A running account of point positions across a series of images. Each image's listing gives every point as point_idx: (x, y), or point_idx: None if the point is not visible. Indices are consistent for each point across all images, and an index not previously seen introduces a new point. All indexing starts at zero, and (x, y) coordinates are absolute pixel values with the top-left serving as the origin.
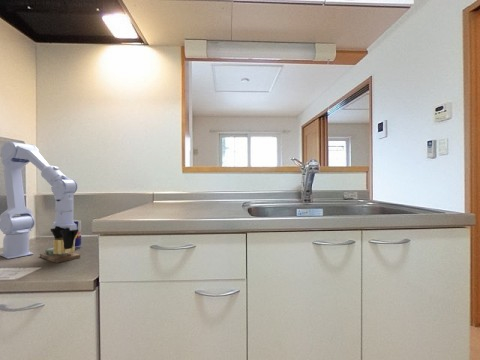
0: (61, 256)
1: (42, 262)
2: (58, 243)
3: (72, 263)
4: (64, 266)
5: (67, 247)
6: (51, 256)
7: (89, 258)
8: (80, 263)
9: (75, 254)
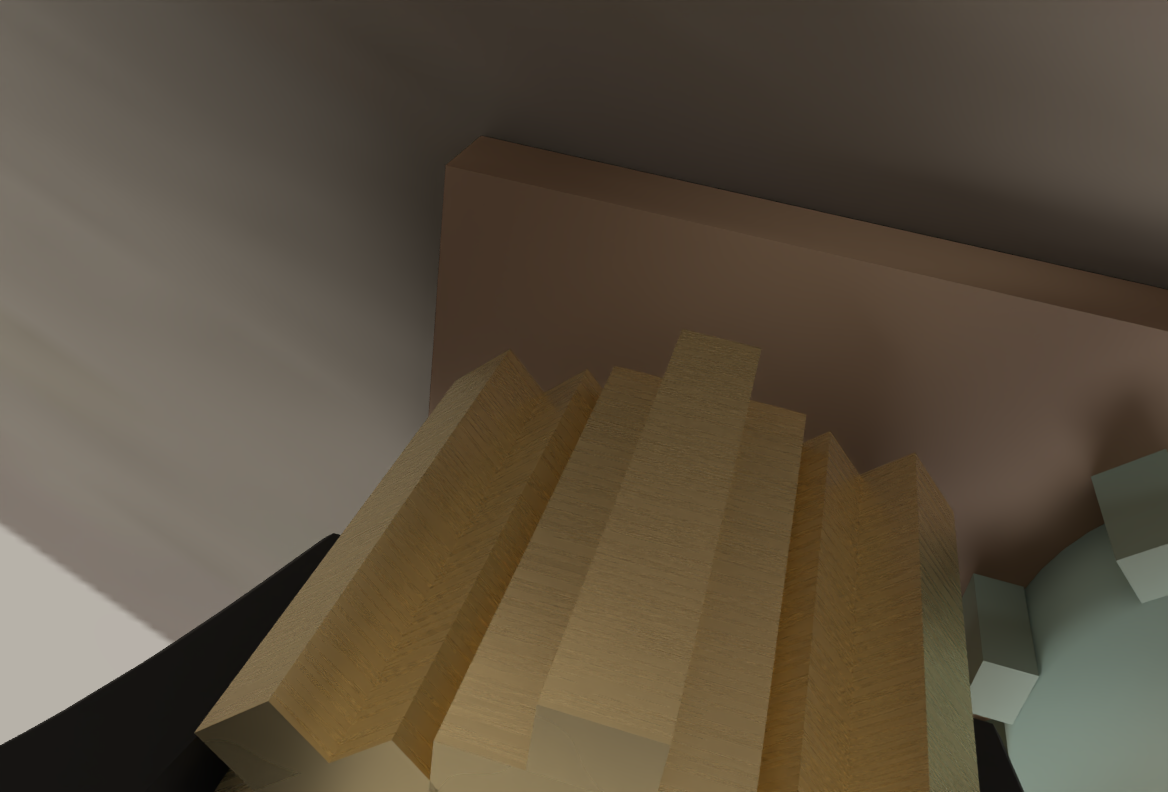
0: None
1: (971, 14)
2: (440, 620)
3: (138, 262)
4: (20, 20)
5: None
6: (972, 359)
7: None
8: (14, 319)
9: None
